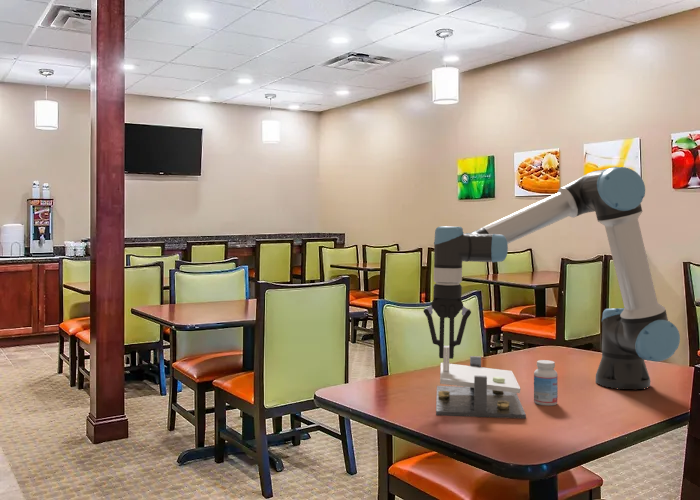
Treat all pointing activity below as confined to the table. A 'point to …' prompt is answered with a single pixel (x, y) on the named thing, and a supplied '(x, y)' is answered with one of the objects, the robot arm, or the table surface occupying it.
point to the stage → (465, 375)
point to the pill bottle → (545, 383)
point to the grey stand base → (478, 399)
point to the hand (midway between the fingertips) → (446, 370)
